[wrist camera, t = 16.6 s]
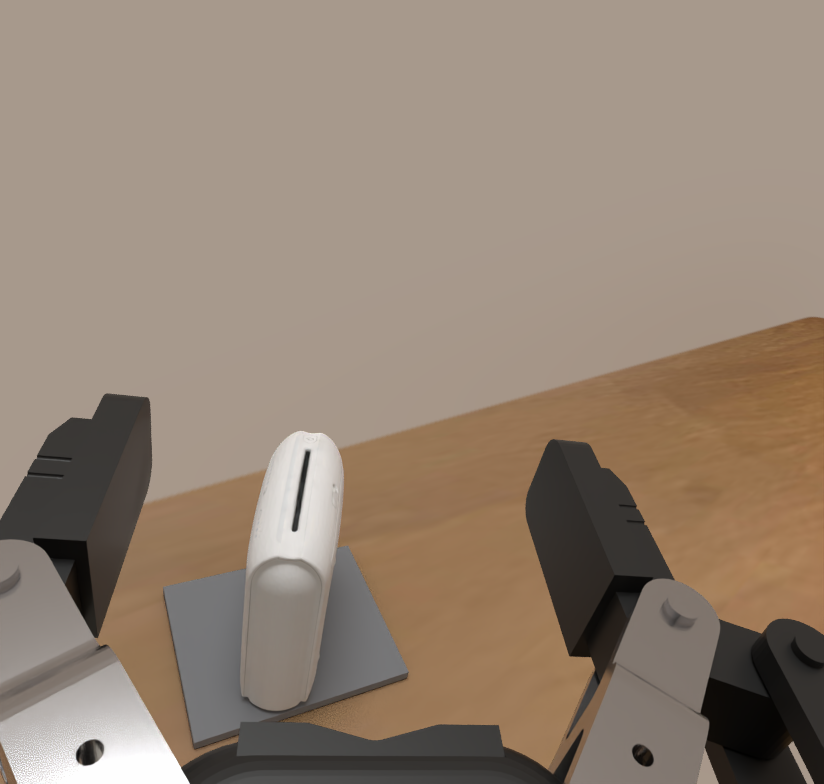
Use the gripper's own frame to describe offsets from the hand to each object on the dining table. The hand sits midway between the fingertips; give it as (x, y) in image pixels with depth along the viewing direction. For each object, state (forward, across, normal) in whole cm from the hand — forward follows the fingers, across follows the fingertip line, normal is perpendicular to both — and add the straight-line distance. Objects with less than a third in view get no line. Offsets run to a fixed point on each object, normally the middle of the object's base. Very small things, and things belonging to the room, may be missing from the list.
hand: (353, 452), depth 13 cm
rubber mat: (+14, 0, +26) cm, 30 cm away
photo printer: (+14, 0, +26) cm, 29 cm away
